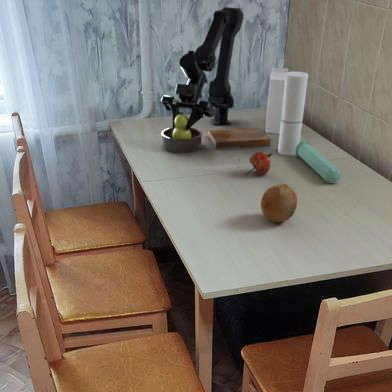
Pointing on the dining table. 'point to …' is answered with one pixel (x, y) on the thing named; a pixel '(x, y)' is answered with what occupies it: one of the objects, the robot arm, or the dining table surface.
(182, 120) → the pear
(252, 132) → the board
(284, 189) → the onion
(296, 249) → the dining table surface
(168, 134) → the bowl
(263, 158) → the red rounded lumpy piece
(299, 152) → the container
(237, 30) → the robot arm
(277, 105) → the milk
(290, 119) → the cylindrical container
